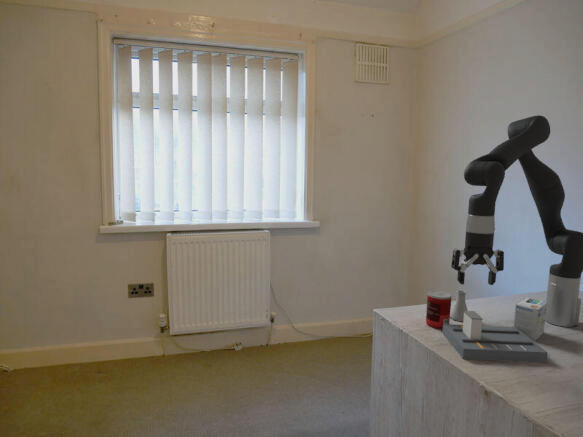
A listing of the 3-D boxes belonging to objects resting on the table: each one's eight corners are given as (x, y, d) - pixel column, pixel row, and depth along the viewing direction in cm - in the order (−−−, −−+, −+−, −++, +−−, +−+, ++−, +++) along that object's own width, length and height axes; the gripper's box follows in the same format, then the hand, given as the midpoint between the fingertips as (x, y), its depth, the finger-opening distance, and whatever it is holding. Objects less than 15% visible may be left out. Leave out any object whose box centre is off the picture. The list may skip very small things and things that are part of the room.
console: (514, 335, 130) (515, 325, 130) (546, 362, 112) (547, 350, 112) (442, 332, 131) (443, 322, 131) (462, 358, 114) (463, 346, 113)
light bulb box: (522, 326, 138) (525, 296, 137) (544, 333, 133) (548, 301, 132) (511, 335, 131) (515, 303, 129) (535, 342, 126) (538, 309, 125)
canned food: (448, 322, 141) (451, 291, 139) (449, 330, 133) (452, 298, 132) (425, 319, 143) (427, 289, 142) (425, 327, 136) (427, 295, 134)
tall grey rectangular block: (472, 331, 125) (474, 311, 124) (480, 340, 119) (482, 318, 118) (462, 331, 125) (463, 310, 124) (469, 339, 119) (471, 318, 118)
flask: (466, 315, 148) (468, 289, 147) (473, 322, 141) (475, 295, 140) (446, 314, 149) (448, 288, 147) (452, 321, 141) (454, 294, 140)
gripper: (498, 228, 121) (494, 281, 123) (450, 227, 122) (447, 280, 124) (511, 232, 113) (506, 288, 116) (459, 231, 114) (456, 287, 116)
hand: (475, 284), depth 120 cm, fingers open, 8 cm apart
